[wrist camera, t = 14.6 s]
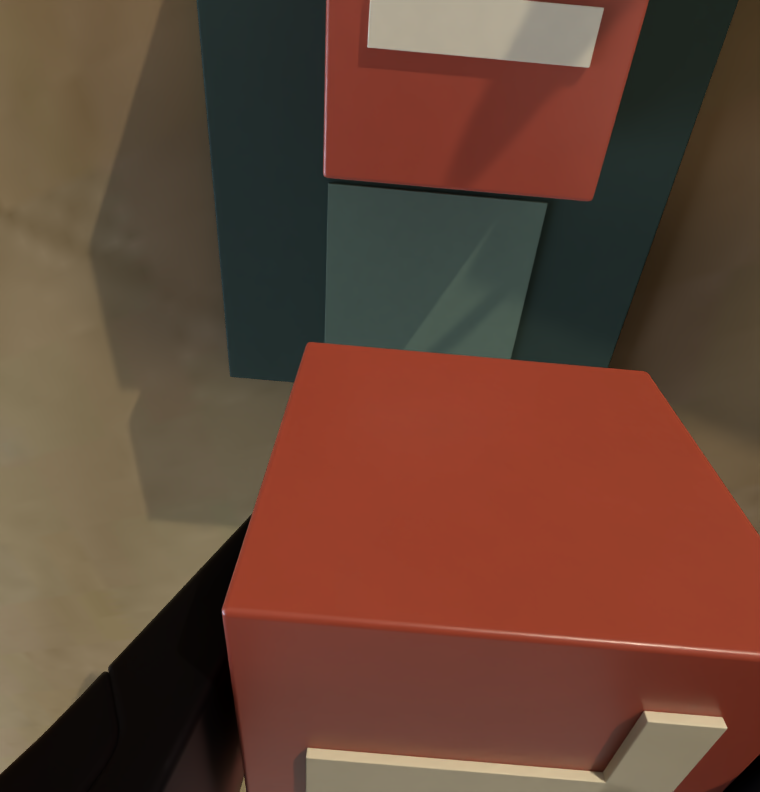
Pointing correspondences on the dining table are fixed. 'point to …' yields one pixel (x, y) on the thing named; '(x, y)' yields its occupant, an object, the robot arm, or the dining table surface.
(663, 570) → the letter T
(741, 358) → the dining table surface
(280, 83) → the word mat
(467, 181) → the red box-shaped block
